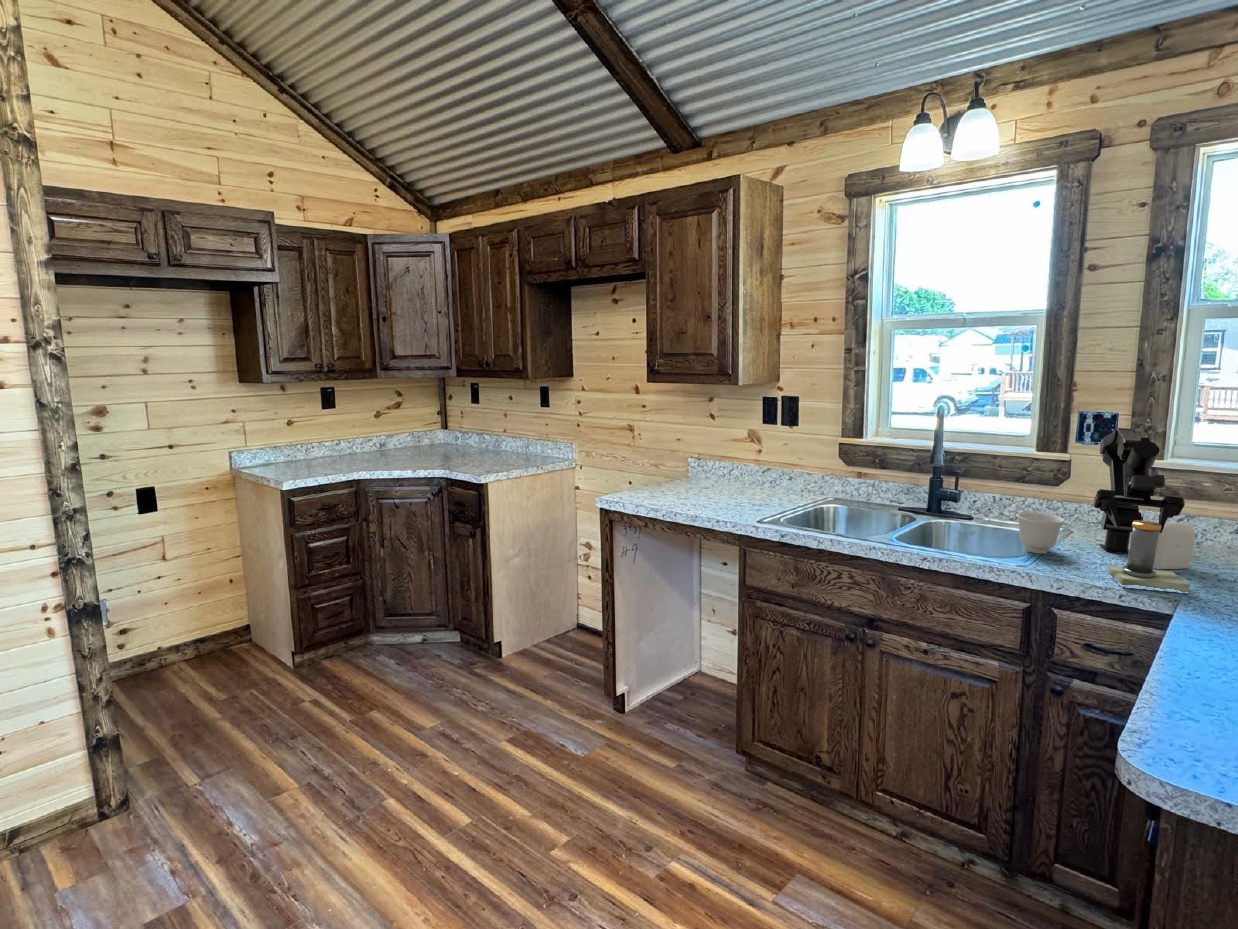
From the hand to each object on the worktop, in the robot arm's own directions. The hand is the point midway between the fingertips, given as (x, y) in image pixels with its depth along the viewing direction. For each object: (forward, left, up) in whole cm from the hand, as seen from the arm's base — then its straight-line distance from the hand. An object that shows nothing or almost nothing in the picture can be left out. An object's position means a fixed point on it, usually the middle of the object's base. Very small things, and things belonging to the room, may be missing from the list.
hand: (1139, 530), depth 186 cm
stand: (+7, +1, -12) cm, 14 cm away
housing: (+6, -1, -10) cm, 12 cm away
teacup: (-17, -18, -12) cm, 28 cm away
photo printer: (-10, +12, -12) cm, 20 cm away
